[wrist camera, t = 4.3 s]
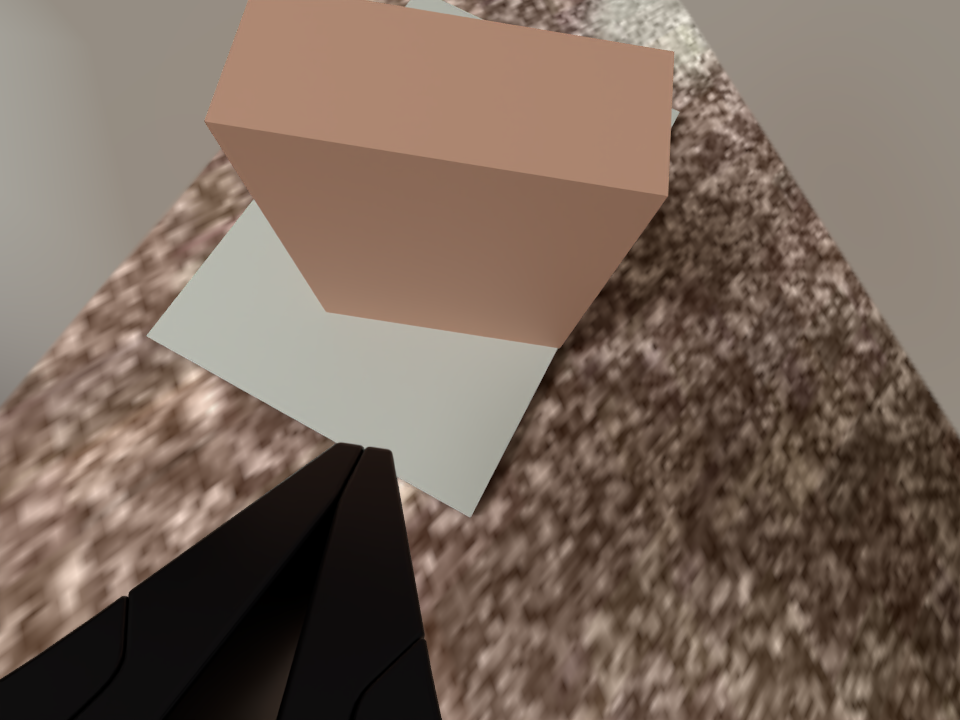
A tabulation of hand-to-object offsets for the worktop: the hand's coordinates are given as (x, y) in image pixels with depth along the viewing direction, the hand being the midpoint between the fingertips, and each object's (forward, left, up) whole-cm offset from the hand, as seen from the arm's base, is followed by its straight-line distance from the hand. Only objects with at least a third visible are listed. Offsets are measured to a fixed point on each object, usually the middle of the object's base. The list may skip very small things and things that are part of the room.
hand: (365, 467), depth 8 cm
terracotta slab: (+3, -8, -12) cm, 15 cm away
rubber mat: (+5, -11, -13) cm, 18 cm away
